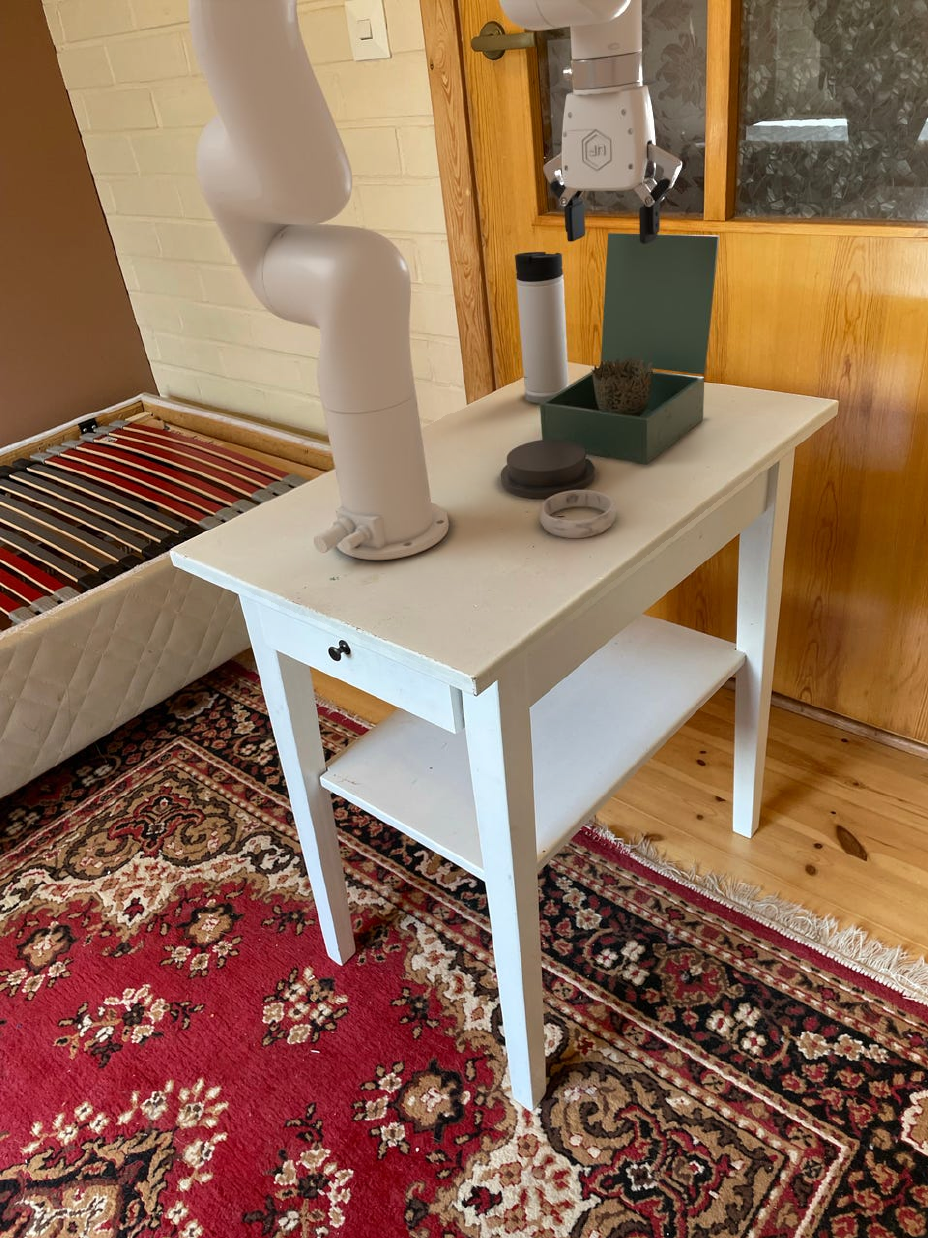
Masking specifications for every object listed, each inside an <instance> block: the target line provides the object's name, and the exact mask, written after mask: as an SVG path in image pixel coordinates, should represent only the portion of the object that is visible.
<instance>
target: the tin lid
mask: <svg viewBox="0 0 928 1238" xmlns="http://www.w3.org/2000/svg"><path fill="white" fill-rule="evenodd" d="M719 245H720V235H701V234H699V235H698V234H697V235H696V234H661V233H660V234H659V233H657V238H656V239H654V240H652V241H650V242H649V243H647V244H642V243H641V242H640V233H626V232H625V233H623V232H622V233H621V232H608V233H607V245H606V262H605V263H606V265H605V281H604V283H605V284H604V300H603V314H602V315H603V317H602V332H601V333H602V334H601V335H602V337H601V351H600V353H601V354H600V363H601V362H603V363H604V364H605V362H606V361H607V360H609V361H611V362H612V364H613V365H614V363H615V360H616V359H617V358H618V359H619V360H621V362H624V361H625V360H626V359H627V358H628V357H631V358H633V359H635V360H636V361H637V362H638V360H639V359H642V360H643V361H644V366H647V367H648V366H649V363H651V362H652V366H653V370H660V371H671V372H678V373H686V374H696V375H706V371H707V362H708V353H709V352H708V351H709V342H710V333H711V323H712V313H713V303H714V293H715V286H716V285H715V282H716V274H717V266H718V265H717V264H718V255H719ZM621 364H622V363H621Z"/></svg>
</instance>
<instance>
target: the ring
mask: <svg viewBox="0 0 928 1238" xmlns="http://www.w3.org/2000/svg"><path fill="white" fill-rule="evenodd" d="M577 507H583V508H585V507H587V508H594V509H598V510H601V511H604V513H602V514H600V515H597V516H595V517H591V518H586V519H579V520H567V519H560V518H556V517H553V516H551V515H552V514H554V513H556V512H558V511H562V510H564V509H569V508H577ZM616 510H617V509H616V505H615V503H614V501H613V500H612V498H610V496H608V495H607V494H605V493H602V492H600V491H596V490H590V489H582V490H572V491H566V492H561V493H558V494H555V495H553V496H551V497H549V498H547V499H545V501H543V502H542V504H541V506H540V509H539V514H538V515H539V516H538V517H539V522H540V524H541V526H542V528H543V529H544V531H546V532H548V533H550V534H551V535H554V536H557V537H560V538H566V539H568V538H569V539H580V538H581V539H582V538H587V537H592V536H596V535H599V534H601V533H603V532H605V531H607V530H608V529H609V528H610V527H611V526H612V525H613V523H614V521H615V519H616V515H617V514H616V513H617V511H616Z"/></svg>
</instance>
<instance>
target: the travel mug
mask: <svg viewBox="0 0 928 1238" xmlns="http://www.w3.org/2000/svg"><path fill="white" fill-rule="evenodd" d="M514 262H515V271H516V273H515V274H516V277H515V280H516V281H515V282H516V293H517V295H516V296H517V305H518V306H517V307H518V320H519V321H518V322H519V333H520V334H519V335H520V346H521V358H522V359H521V360H522V371H523V374H522V375H523V385H524V398H525V400H526V401H527V402H529V403H531V404H534V405H535V404H536V405H540V403H542V402H544V401H545V400H547V399H548V398H550V397H552V396H553V395H555V394H556V393H558V392H560V391H561V390H563V389H565V388H566V387H568V386H569V385H570V384H569V381H570V380H569V364H568V363H569V361H568V342H567V341H568V339H567V324H566V323H567V322H566V319H567V318H566V302H565V299H566V298H565V281H564V272H563V254H562V253H560V252H555V253H547V252H546V251H530V252H522V253H520V252H519V253H516V254H515V255H514Z"/></svg>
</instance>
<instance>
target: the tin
mask: <svg viewBox="0 0 928 1238" xmlns="http://www.w3.org/2000/svg"><path fill="white" fill-rule="evenodd" d="M599 367H600V366H597V368H599ZM704 401H705V377H704V376H697V375H688V374H680V373H673V372H663V371H655V370H653V371H652V381H651V390H650V397H649V402H648V405H647V407H646V409H645V411H644V412H643V413H642V414H641V415H640V416H631V415H624V414H618V413H611V412H604V411H600V410H599V408H598V405H597V401H596V395H595V389H594V383H593V376H592V371H590V372H588V373H587V374H585V375H584V376H582V377H580V378H579V379H577V380H575V381H574V382H573V383H571V384H569V386H568V387H566V388H565V389H563V390H561V391H560V392H558V393H556V394H555V395H553V396H552V397H550V398H548V399H547V400H545V401H544V402H542V403H540V404H539V413H540V426H541V427H540V429H541V437H542V438H541V440H547V439H559V440H567V441H572V442H575V443H578V444H580V445H581V446H582V447H583V448H584V449H585V451H586V455H592V456H596V457H601V458H602V457H603V458H607V459H608V458H609V459H612V460H613V459H614V460H619V461H625V462H629V463H636V464H641V465H648V464H650V463H651V462H652V461H654V460H655V459H656V458H657V457H658V456H660V455H661V454H662V453H663V452H665V451H666V450H667V449H668V448H670V447H671V446H672V445H673V444H675V443H676V442H677V441H678V440H680V439H681V438H682V437H683V436H685V435H686V434H687V433H688V432H689V431H691V430H692V429H693V428H695V427H696V426H697V425H698V424H700V423H701V422H702V421H703V420H704Z"/></svg>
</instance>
